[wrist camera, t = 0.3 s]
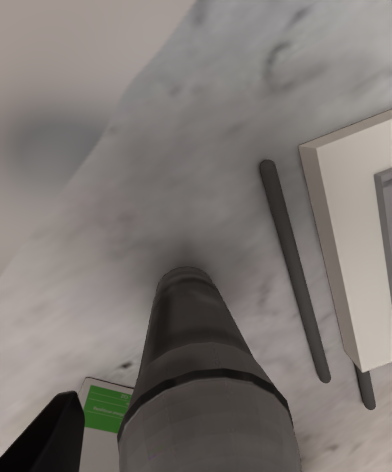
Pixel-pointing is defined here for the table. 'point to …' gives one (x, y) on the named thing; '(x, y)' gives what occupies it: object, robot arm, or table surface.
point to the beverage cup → (202, 391)
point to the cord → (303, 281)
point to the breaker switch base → (356, 231)
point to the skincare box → (102, 424)
